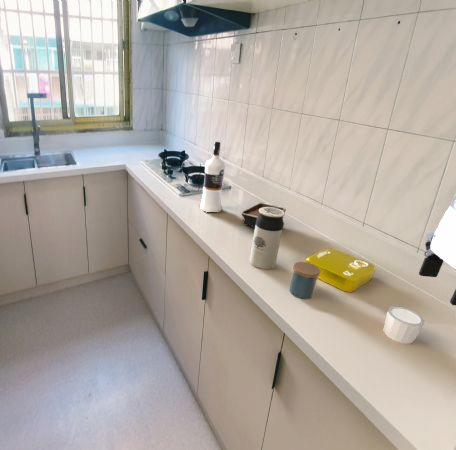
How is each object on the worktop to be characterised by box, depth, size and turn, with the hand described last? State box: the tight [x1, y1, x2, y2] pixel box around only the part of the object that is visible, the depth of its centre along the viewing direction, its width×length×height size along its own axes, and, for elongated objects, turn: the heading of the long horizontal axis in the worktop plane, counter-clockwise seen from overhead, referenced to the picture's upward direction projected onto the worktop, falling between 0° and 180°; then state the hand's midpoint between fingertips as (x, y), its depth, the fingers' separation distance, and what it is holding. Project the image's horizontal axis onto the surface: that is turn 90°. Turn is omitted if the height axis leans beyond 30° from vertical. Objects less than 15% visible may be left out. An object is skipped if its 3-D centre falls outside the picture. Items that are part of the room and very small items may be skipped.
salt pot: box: [289, 261, 320, 300], centre depth 92 cm, size 7×7×8 cm
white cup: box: [382, 306, 425, 345], centre depth 77 cm, size 7×7×7 cm
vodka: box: [199, 141, 226, 213], centre depth 145 cm, size 9×9×30 cm
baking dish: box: [240, 202, 287, 229], centre depth 134 cm, size 14×18×10 cm
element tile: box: [305, 247, 376, 293], centre depth 103 cm, size 15×15×5 cm
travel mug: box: [249, 207, 286, 270], centre depth 105 cm, size 8×8×18 cm
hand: (442, 289), depth 65 cm, fingers open, 9 cm apart
